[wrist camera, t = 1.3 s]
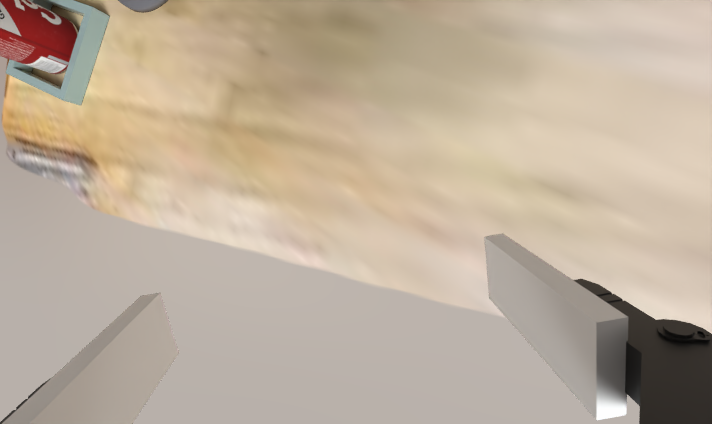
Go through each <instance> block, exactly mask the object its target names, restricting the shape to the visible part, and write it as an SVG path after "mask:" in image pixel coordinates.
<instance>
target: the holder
mask: <svg viewBox="0 0 712 424" xmlns="http://www.w3.org/2000/svg"><path fill="white" fill-rule="evenodd" d="M29 1H31V2H33V3H35V4H37V5H39V6H41V7H43V8H45V9H47V10H49V11H51V7H52V5H55V6H58V7H60V8H63V9H66V10H68V11H71V12H74V13H77V14H79V15H82V16H83V20H82V23H81V26H80V29H79V32H78V35H77V39H76V42H75V45H74V48H73V51H72V55H71V58H70V61H69V64H68V67H67V70H66V74H65V77H64V80H63V83H62V86H61V87H59V86H57V85H55V84H53V83H51V82H48V81H46V80H44V79H42V78H40V77H38V76H35V75H33V74H31V73H32V70H33V67H31V66H28V65H25V64H22V63H19V62H16V61H13V60H9V63H8V67H7V70H6V73H7V74H9V75H11V76H13V77H15V78H17V79H19V80H21V81H23V82H26V83H28V84H30V85H32V86H34V87H36V88H38V89H40V90H42V91H44V92H47V93H49V94H51V95H53V96H55V97H57V98H59V99H61V100H63V101H67V102H70V103H74V104H77V105H81V104H82V101H83V98H84V95H85V91H86V88H87V85H88V82H89V79H90V76H91V73H92V70H93V67H94V63H95V60H96V57H97V54H98V51H99V48H100V45H101V42H102V39H103V36H104V32H105V29H106V26H107V23H108V20H109V17H110V16H108V15H106V14H105V13H103V12H101V11H99V10H97V9H96V8H94V7H91V6H88V5H86V4H83V3H80V2H77V1H74V0H29Z"/></svg>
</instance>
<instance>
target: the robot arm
mask: <svg viewBox="0 0 712 424" xmlns="http://www.w3.org/2000/svg"><path fill="white" fill-rule="evenodd" d="M484 238H485V251H486V264H487V276H488V289H489V299H490V300H491V301H492V302H493V303H494V304H495V305H496V307H497V308H498V309H499V310H500V311H501V312H502V313H503V315H504V316H505V317H506V318H507V319H508V320H509V321H510V322H511V324H512V325H513V326H514V327H515V328H516V329H517V330H518V332H519V333H520V334H521V335H522V336H523V337H524V338H525V340H526V341H527V342H528V343H529V344H530V345H531V346H532V347H533V349H534V350H535V351H536V352H537V353H538V354H539V355H540V357H541V358H542V359H543V360H544V361H545V362H546V363H547V364H548V366H549V367H550V368H551V369H552V370H553V371H554V372H555V374H556V375H557V376H558V377H559V378H560V379H561V380H562V381H563V383H564V384H565V385H566V386H567V387H568V388H569V389H570V391H571V392H572V393H573V394H574V395H575V396H576V397H577V398H578V400H579V401H580V402H581V403H582V404H583V405H584V407H585V408H586V409H587V410H588V411H589V412H590V413H591V414H592V415H593V417H594V418H595V419H596V420H600V419H606V418H611V417H617V416H622V415H626V404H627V394H628V395H629V396H630V397H631V398H632V399H633V400H634V401H635V402H636V403H637V404H639V406H640V421H639V422H640V424H712V334H711V333H709V332H708V331H706V330H705V329H703V328H701V327H698V326H696V325H693V324H690V323H686V322H682V321H677V320H666V319H662V320H655V319H654V318H652V317H650V316H649V315H647V314H645V313H644V312H642V311H641V310H639V309H637V308H636V307H634V306H633V305H631V304H629V303H628V302H626V301H622V299H621V298H620V297H618V296H616V295H615V294H612V293H611V292H610V291H608V290H607V289H605V288H603V287H602V286H600V285H598V284H595V283H592V282H589V281H586V280H583V279H578V280H572V279H571V278H569V277H568V276H566V275H565V274H563V273H561V272H560V271H558V270H557V269H555V268H554V267H552V266H551V265H549V264H548V263H546V262H545V261H543V260H542V259H540V258H539V257H537V256H536V255H534V254H533V253H531V252H530V251H528V250H527V249H525V248H524V247H522V246H521V245H519V244H518V243H516V242H515V241H513V240H512V239H510V238H509V237H507V236H506V235H504V234H498V235H492V236H486V237H484ZM178 354H179V350H178V347H177V344H176V341H175V338H174V334H173V331H172V328H171V325H170V322H169V318H168V315H167V312H166V309H165V306H164V303H163V300H162V296H161V293H155V294H150V295H143V296H140V297H139V298H138V299H137V300H136V301H135V302H134V303H133V304H132V305H131V306H130V307H128V308H127V309H126V310H125V311H124V312H123V313H122V314H121V315H120V316H119V317H118V318H117V319H115V320H114V321H113V322H112V323H111V324H110V325H109V326H108V327H107V328H106V329H104V330H103V331H102V332H101V333H100V334H99V335H98V336H97V337H96V338H95V339H94V340H92V342H90V343H89V344H88V345H87V346H86V347H85V348H84V349H83V350H82V351H81V352H79V353H78V354H77V355H76V356H75V357H74V358H73V359H72V360H71V361H70V362H69V363H67V364H66V365H65V366H64V367H63V368H62V369H61V370H60V371H59V372H58V373H57V374H55V375H54V376H53V377H52V378H51V379H49V380H48V381H46V382H45V383H43V384H42V385H41V386H40V387H39V388H37V389H36V390H35V391H34V392H33V393H32V394H31V395H30V396H29V397H28V399H26V400H24V401H23V402H22V403H21V404H20V405H19V406H18V407H17V409H16V410H13V411H12V412H11V413H10V414H9V415H8V416H7V417H5V418H4V419H3V420H2V421H1V422H0V424H133V422H134V421H135V419H136V418H137V416H138V415H139V413H140V412H141V410H142V408H143V407H144V405H145V404H146V402H147V401H148V399H149V398H150V396H151V395H152V393H153V392H154V390H155V389H156V387H157V386H158V384H159V383H160V381H161V380H162V378H163V377H164V375H165V374H166V372H167V371H168V369H169V368H170V366H171V365H172V363H173V362H174V360H175V359H176V357H177V355H178Z"/></svg>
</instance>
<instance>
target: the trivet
mask: <svg viewBox="0 0 712 424" xmlns="http://www.w3.org/2000/svg"><path fill="white" fill-rule="evenodd" d="M118 1H119V2H121V3H122V4H123V5H125V6H126V7H128V8H130V9H131V10H134V11H137V12H149V11H153V10H155V9H157V8H159V7H160V6H162V5H163V4H164V3H166V2H167V1H168V0H118Z"/></svg>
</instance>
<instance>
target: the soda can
mask: <svg viewBox="0 0 712 424" xmlns="http://www.w3.org/2000/svg"><path fill="white" fill-rule="evenodd" d="M77 35H78V31H77V29H76V27H75V25H74V24H73V23H72V22H71V21H70V20H68V19H66V18H64V17H62V16H60V15H58V14H56V13H53V12H51V11H49V10H47V9H45V8H43V7H41V6H39V5H37V4H35V3H33V2H31V1H29V0H0V56H2V57H5V58H7V59H10V60H13V61H16V62H19V63H22V64H25V65H28V66H31V67H34V68H37V69H39V70H42V71H45V72H48V73H51V74H61V73H64V72H65V71H66V70H67V67H68V64H69V61H70V58H71V55H72V51H73V48H74V45H75V42H76V39H77Z"/></svg>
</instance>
